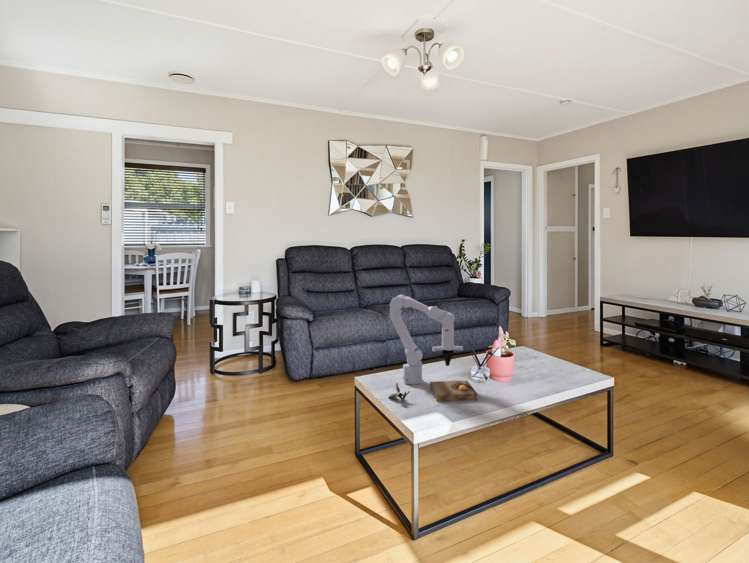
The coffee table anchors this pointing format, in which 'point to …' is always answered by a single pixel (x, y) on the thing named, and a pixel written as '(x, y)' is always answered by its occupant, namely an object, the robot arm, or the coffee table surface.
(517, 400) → the coffee table surface
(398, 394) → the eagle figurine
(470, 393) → the board
